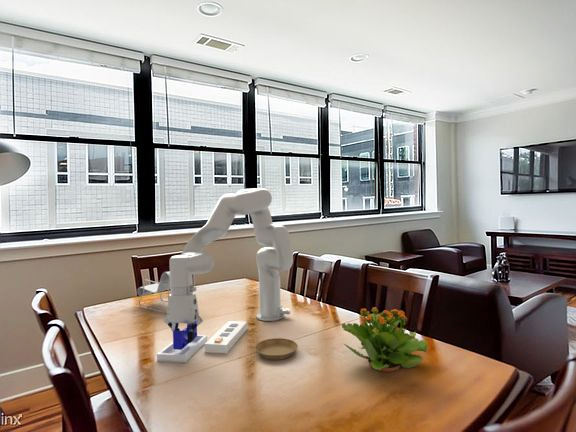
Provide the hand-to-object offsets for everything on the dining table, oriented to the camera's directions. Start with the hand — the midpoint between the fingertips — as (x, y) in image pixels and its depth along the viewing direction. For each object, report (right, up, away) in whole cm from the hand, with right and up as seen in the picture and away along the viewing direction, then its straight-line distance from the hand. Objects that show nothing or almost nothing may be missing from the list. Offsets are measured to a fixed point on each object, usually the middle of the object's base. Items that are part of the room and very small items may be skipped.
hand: (183, 340), depth 127 cm
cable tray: (0, -4, 0) cm, 4 cm away
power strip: (+14, -3, +10) cm, 17 cm away
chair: (-26, -2, +56) cm, 61 cm away
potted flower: (+66, -3, -15) cm, 68 cm away
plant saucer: (+33, -4, -3) cm, 33 cm away
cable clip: (0, -1, 0) cm, 1 cm away
